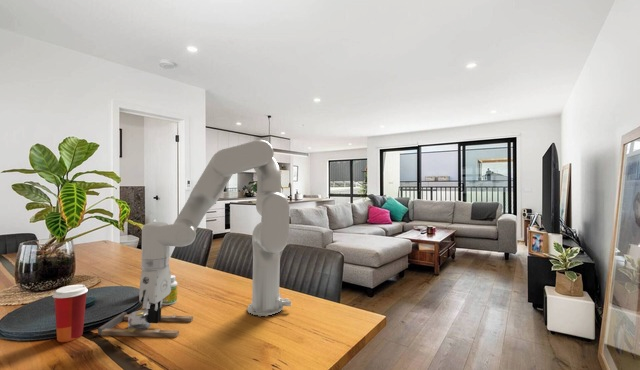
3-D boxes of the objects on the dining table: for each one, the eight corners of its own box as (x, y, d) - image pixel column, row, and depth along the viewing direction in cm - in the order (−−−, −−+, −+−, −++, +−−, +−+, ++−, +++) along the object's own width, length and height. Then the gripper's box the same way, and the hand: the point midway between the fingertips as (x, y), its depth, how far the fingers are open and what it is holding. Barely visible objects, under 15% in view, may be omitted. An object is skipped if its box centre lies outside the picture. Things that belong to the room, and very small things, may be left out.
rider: (154, 322, 94) (154, 309, 94) (143, 331, 88) (144, 317, 88) (135, 322, 94) (135, 308, 94) (123, 331, 88) (123, 317, 88)
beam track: (193, 319, 97) (193, 313, 97) (176, 337, 86) (176, 330, 86) (123, 318, 97) (123, 311, 97) (97, 335, 86) (98, 328, 86)
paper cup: (85, 327, 90) (86, 282, 90) (88, 337, 85) (89, 288, 84) (50, 336, 85) (51, 288, 84) (52, 347, 79) (53, 295, 79)
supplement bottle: (170, 306, 107) (170, 279, 107) (157, 304, 108) (158, 278, 108) (180, 300, 112) (180, 275, 112) (167, 299, 114) (168, 273, 114)
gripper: (153, 270, 84) (152, 334, 84) (179, 257, 99) (178, 311, 99) (127, 269, 84) (126, 333, 84) (156, 256, 99) (155, 311, 99)
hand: (154, 321), depth 91 cm, fingers closed
